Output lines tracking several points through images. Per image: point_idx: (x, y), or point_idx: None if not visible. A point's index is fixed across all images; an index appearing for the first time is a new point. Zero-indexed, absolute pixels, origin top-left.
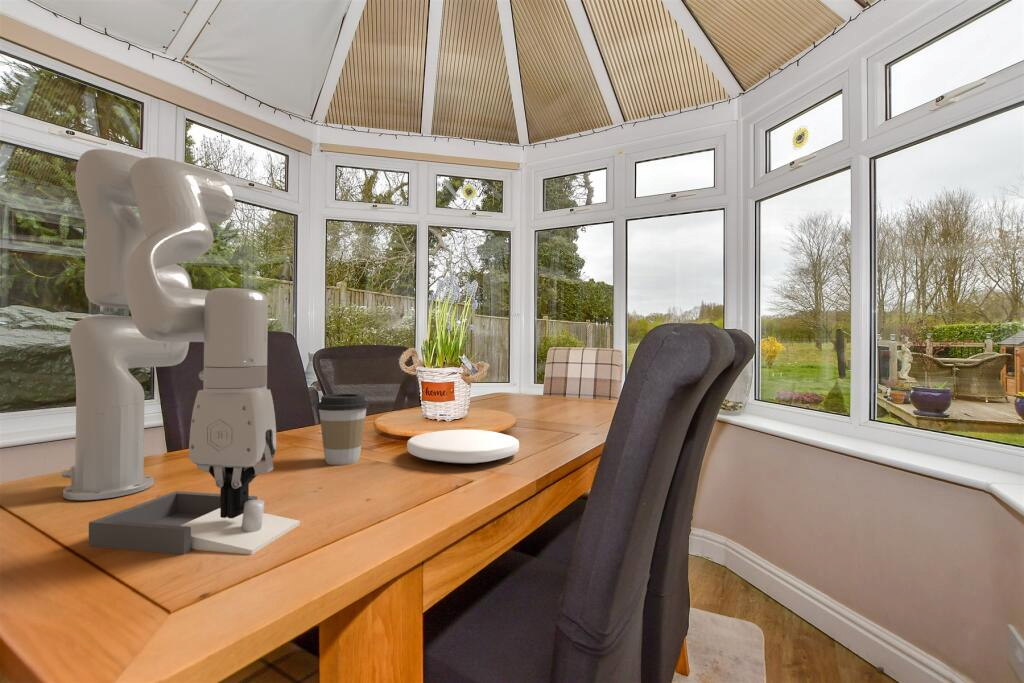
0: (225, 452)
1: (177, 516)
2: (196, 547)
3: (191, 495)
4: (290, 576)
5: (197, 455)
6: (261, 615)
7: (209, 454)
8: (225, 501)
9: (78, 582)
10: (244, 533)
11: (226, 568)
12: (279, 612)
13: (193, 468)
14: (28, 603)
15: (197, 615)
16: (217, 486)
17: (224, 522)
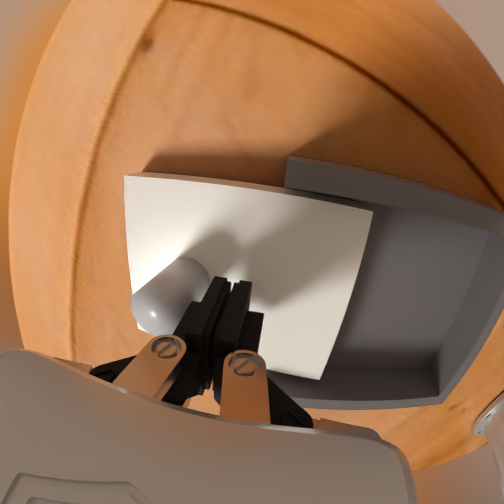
0: (86, 458)
1: (420, 355)
2: (275, 187)
3: (410, 397)
4: (61, 138)
5: (346, 482)
6: (57, 43)
7: (228, 487)
8: (225, 308)
9: (433, 77)
10: (185, 249)
11: (170, 138)
12: (44, 57)
13: (438, 461)
14: (437, 19)
15: (125, 7)
16: (258, 355)
17: (267, 298)
